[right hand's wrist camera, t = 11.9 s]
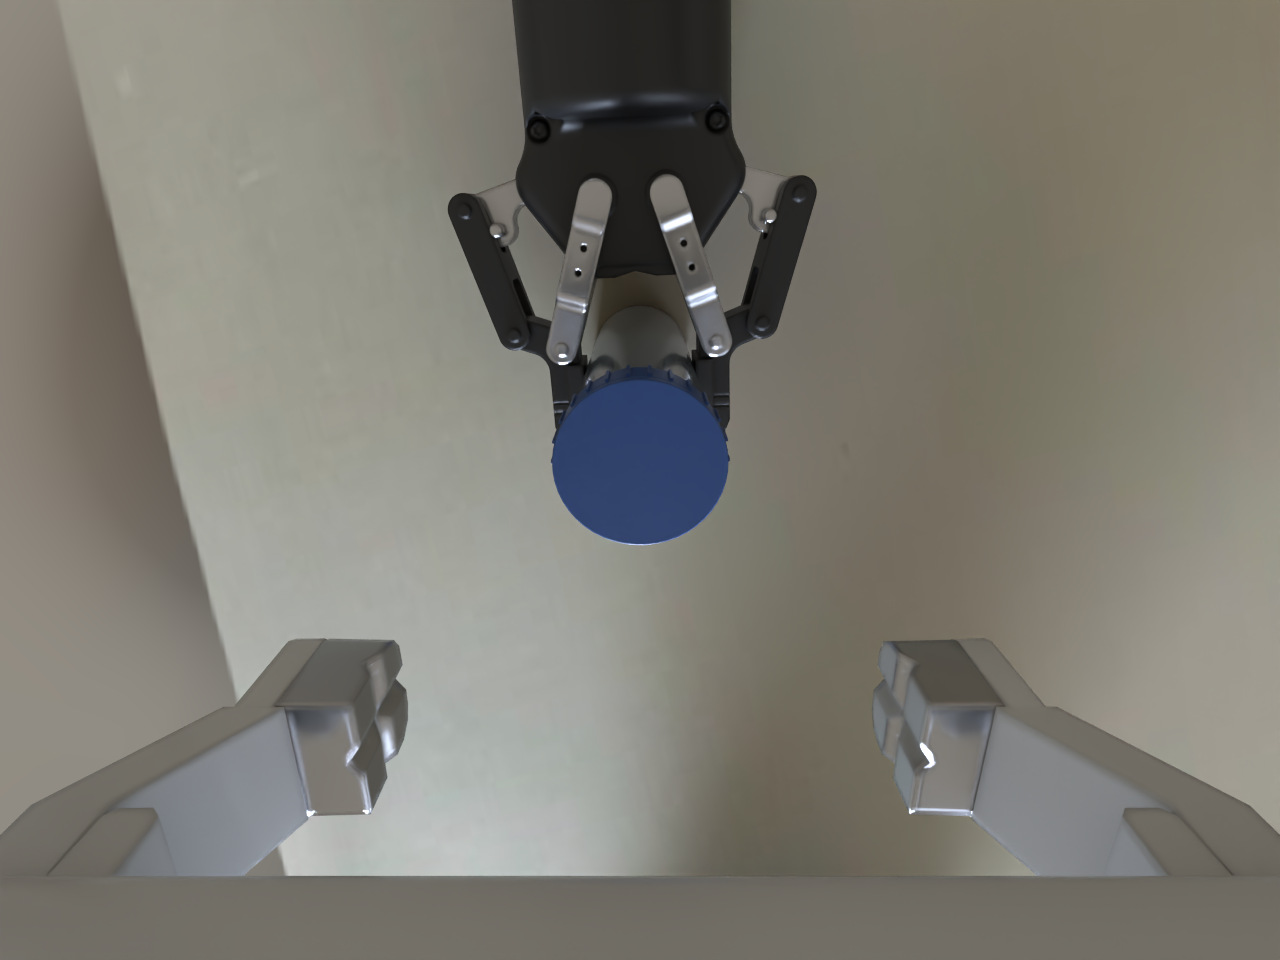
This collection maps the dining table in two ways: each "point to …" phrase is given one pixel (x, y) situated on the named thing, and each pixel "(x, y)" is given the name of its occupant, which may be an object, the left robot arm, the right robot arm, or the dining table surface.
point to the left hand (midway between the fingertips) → (644, 441)
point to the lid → (640, 456)
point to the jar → (640, 345)
